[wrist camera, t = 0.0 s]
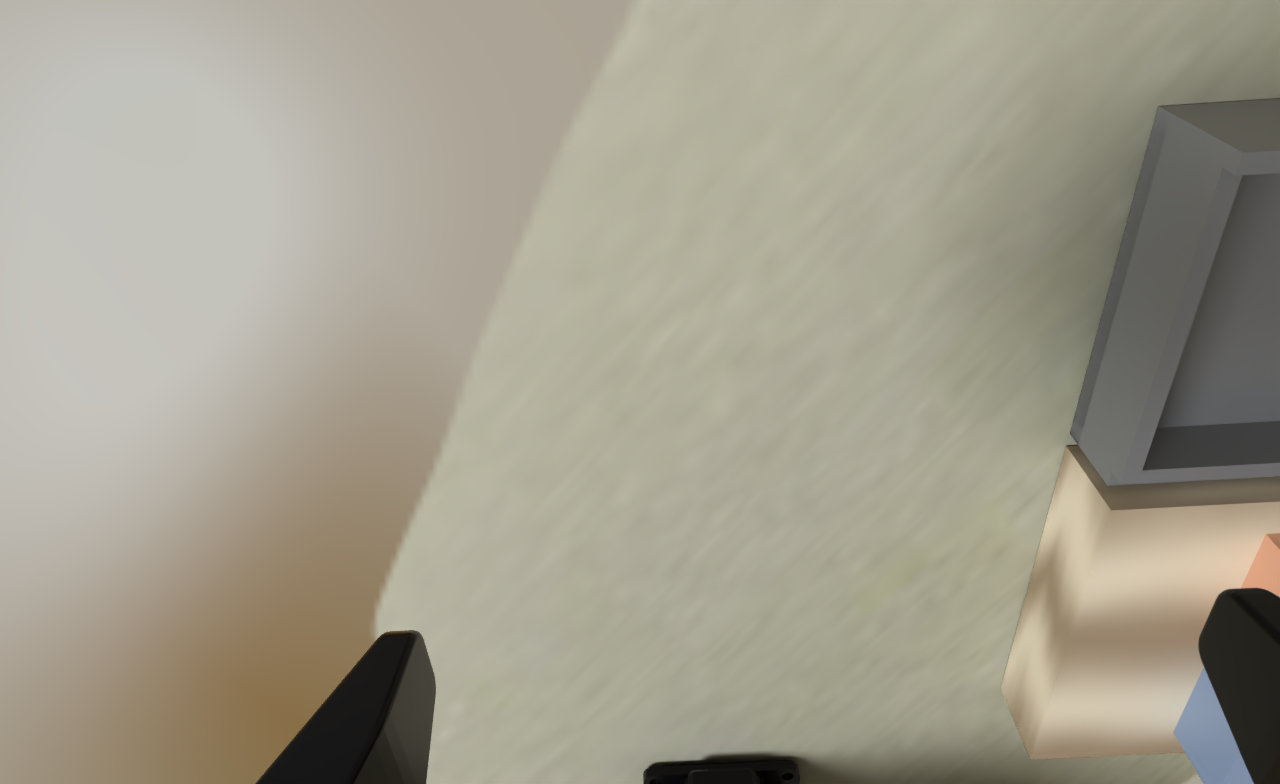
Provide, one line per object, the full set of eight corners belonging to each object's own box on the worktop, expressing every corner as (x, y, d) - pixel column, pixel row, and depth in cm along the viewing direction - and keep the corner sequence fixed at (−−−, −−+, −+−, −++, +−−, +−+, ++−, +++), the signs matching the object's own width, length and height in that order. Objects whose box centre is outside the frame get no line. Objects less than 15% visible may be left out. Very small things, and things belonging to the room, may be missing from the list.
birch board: (1365, 671, 33) (1425, 741, 31) (1000, 689, 34) (1030, 759, 31) (1524, 420, 27) (1617, 483, 24) (1066, 446, 27) (1111, 510, 24)
